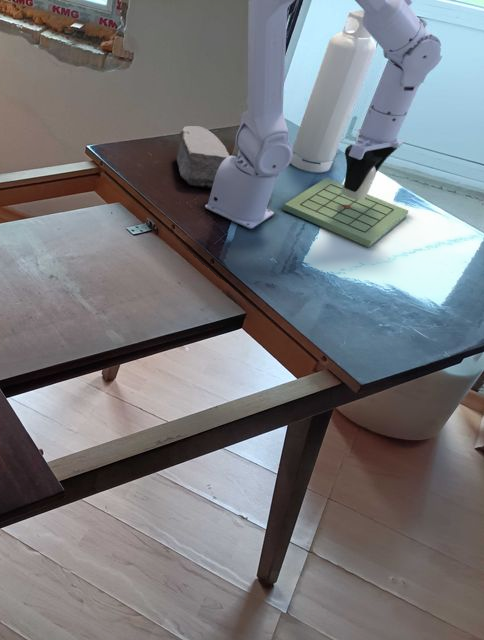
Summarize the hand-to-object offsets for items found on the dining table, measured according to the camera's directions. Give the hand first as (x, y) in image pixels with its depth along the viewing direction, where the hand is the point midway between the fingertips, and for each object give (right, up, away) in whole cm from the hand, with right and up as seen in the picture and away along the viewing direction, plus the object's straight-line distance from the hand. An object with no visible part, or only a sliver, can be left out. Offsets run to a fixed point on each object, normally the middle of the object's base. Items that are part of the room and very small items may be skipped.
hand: (356, 185), depth 119 cm
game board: (0, -4, +4) cm, 6 cm away
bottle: (0, +9, +19) cm, 21 cm away
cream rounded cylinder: (0, -1, +1) cm, 2 cm away
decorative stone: (-25, +5, +12) cm, 28 cm away
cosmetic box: (-14, +9, +18) cm, 24 cm away
